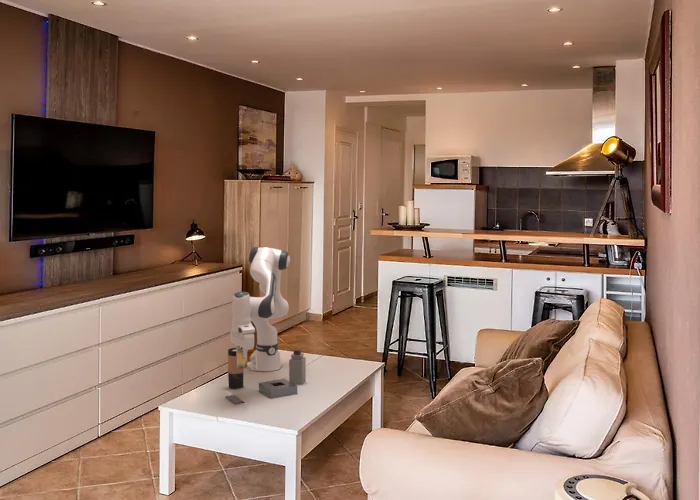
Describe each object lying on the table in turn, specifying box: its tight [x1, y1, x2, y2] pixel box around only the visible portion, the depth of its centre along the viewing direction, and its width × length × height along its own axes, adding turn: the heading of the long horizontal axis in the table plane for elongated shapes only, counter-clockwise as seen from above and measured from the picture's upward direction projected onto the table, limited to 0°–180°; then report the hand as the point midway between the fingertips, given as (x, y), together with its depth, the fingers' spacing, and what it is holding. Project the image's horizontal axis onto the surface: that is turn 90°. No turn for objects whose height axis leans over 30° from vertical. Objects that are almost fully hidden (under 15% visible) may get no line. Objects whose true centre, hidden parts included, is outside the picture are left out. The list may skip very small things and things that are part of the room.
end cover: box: [236, 348, 249, 369], centre depth 317 cm, size 5×5×8 cm
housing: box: [258, 378, 298, 399], centre depth 326 cm, size 14×14×5 cm
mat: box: [224, 394, 246, 405], centre depth 319 cm, size 12×12×1 cm
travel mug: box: [227, 347, 245, 390], centre depth 334 cm, size 8×8×20 cm
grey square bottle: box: [288, 348, 307, 386], centre depth 343 cm, size 7×7×18 cm
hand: (241, 355), depth 317 cm, fingers closed on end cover, 5 cm apart
